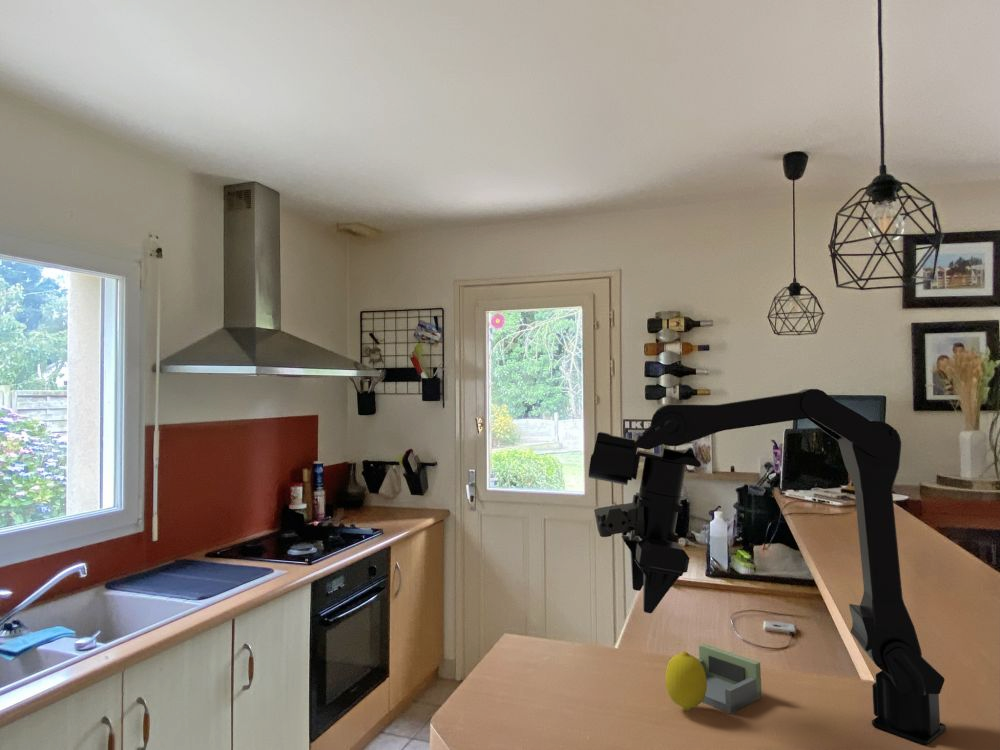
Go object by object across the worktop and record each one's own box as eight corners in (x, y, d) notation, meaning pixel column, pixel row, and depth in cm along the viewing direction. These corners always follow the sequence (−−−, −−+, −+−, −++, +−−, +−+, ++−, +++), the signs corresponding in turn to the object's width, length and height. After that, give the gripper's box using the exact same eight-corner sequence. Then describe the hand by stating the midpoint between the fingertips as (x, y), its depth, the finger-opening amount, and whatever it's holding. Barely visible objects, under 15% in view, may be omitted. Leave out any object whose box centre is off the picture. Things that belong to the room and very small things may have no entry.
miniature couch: (761, 697, 94) (760, 662, 94) (730, 713, 90) (729, 676, 90) (705, 676, 102) (703, 643, 102) (673, 689, 97) (672, 655, 98)
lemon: (699, 700, 94) (697, 643, 94) (713, 719, 88) (711, 659, 89) (661, 702, 94) (659, 645, 94) (673, 721, 88) (670, 660, 88)
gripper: (596, 472, 102) (579, 570, 102) (611, 494, 84) (591, 614, 84) (667, 484, 102) (651, 583, 102) (699, 509, 83) (678, 630, 83)
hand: (641, 600), depth 93 cm, fingers open, 9 cm apart
